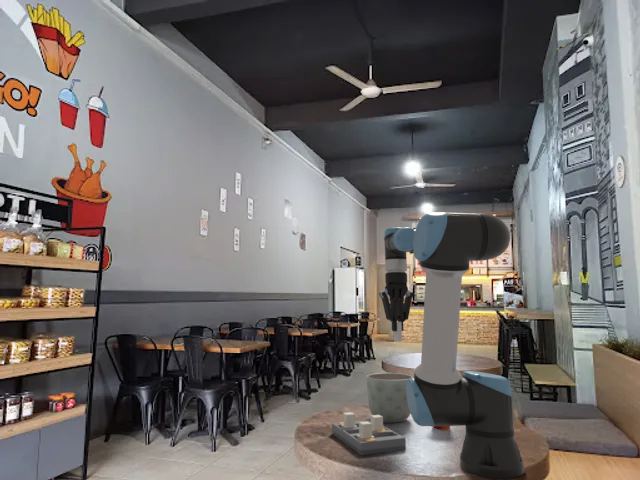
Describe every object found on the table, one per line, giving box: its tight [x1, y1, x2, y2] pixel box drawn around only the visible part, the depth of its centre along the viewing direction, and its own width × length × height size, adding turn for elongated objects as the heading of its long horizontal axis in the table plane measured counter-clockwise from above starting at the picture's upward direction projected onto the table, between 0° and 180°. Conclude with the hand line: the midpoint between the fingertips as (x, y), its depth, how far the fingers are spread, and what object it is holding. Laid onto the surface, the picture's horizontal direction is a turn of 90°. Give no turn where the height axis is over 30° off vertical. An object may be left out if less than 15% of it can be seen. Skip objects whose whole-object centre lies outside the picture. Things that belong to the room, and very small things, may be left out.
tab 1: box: [341, 411, 357, 429], centre depth 140 cm, size 3×4×6 cm
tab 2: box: [357, 421, 375, 440], centre depth 129 cm, size 3×4×6 cm
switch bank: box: [331, 419, 407, 456], centre depth 135 cm, size 22×14×3 cm, turn 20°
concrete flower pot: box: [365, 372, 414, 424], centre depth 161 cm, size 17×17×15 cm
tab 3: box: [370, 414, 385, 432], centre depth 137 cm, size 3×4×6 cm
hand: (397, 341), depth 152 cm, fingers closed
